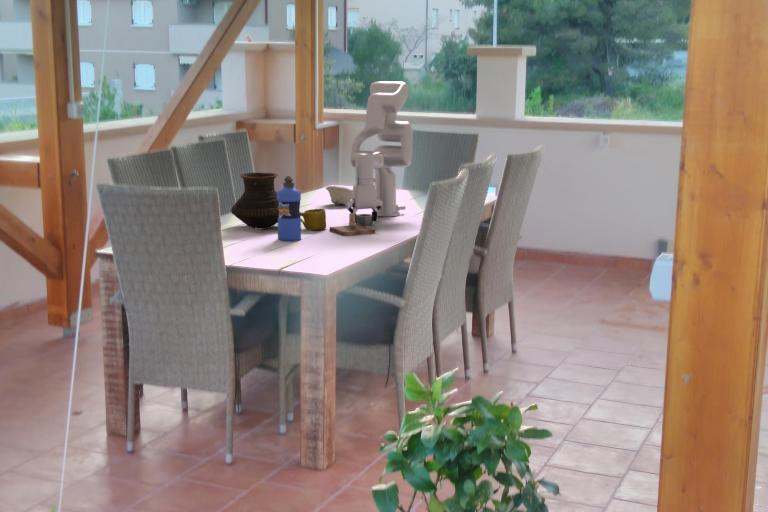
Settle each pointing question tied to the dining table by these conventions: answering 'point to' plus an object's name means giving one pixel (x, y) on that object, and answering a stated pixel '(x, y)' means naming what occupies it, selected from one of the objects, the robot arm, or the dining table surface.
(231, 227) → the dining table surface
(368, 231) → the post block
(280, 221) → the water bottle
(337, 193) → the bowl
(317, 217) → the mug
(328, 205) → the dining table surface
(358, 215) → the collar
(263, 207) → the ceramic pot
